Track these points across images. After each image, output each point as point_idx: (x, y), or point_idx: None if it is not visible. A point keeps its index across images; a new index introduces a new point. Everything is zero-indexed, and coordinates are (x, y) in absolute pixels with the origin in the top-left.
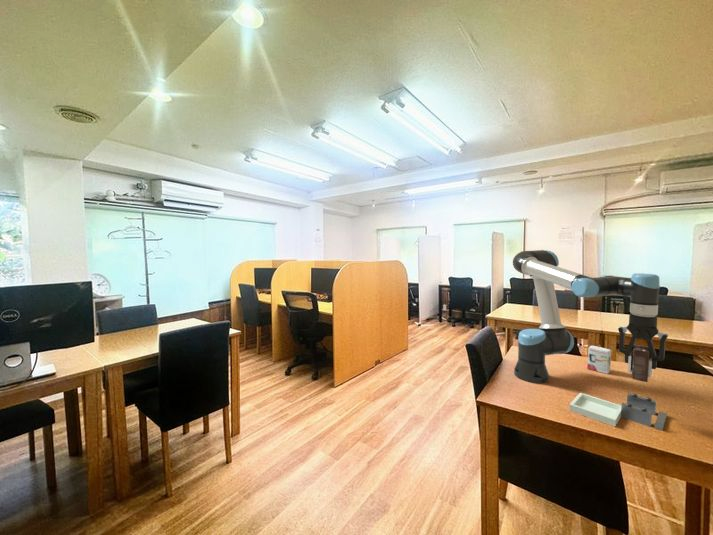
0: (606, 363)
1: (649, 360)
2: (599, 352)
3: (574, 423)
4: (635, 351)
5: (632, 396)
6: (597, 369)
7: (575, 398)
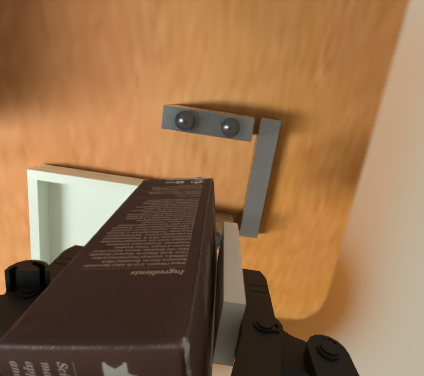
0: None
1: (216, 361)
2: None
3: None
4: None
5: (179, 130)
6: None
7: (32, 231)
